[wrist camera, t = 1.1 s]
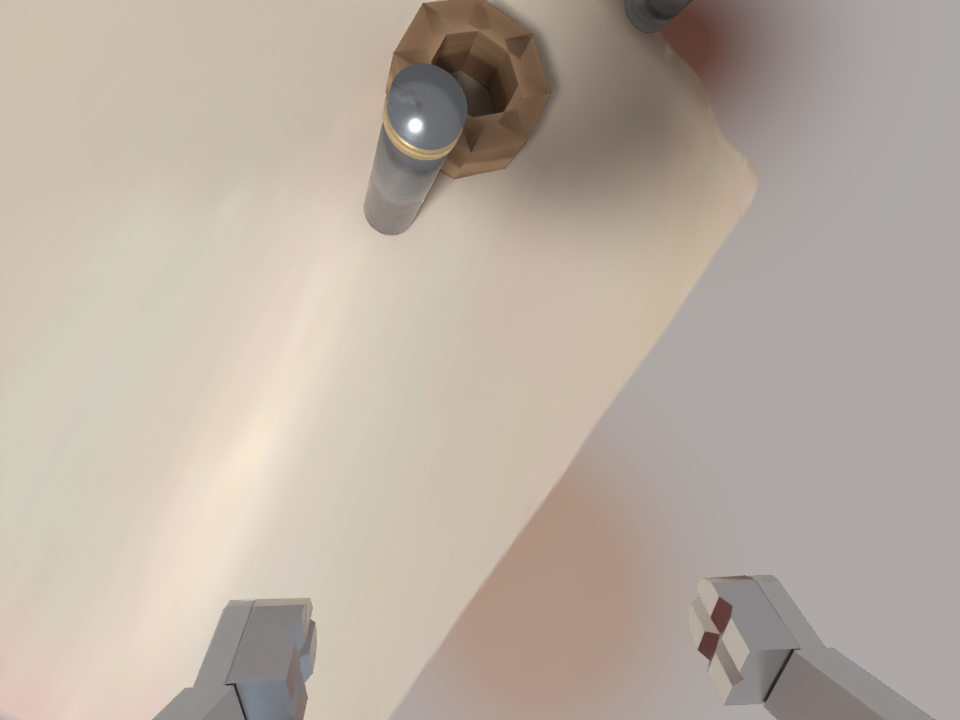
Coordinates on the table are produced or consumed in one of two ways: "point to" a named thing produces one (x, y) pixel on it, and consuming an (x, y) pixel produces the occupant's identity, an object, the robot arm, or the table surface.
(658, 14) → the beverage cup
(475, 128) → the wooden octagonal ring
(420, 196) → the gold-banded metal cylinder
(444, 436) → the table surface
